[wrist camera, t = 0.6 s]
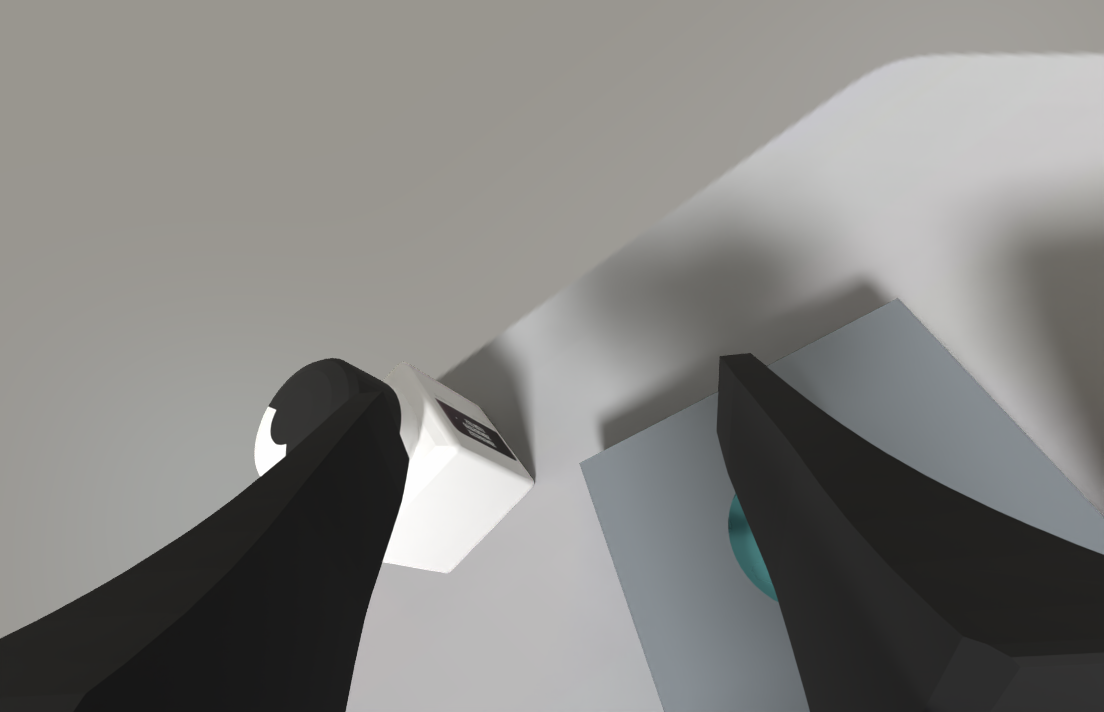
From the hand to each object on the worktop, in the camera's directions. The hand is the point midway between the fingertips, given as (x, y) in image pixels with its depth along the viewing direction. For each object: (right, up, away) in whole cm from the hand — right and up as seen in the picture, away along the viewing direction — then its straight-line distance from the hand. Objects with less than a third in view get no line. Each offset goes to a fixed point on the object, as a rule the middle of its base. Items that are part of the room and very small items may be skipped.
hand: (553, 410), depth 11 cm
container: (-5, -7, +23) cm, 24 cm away
